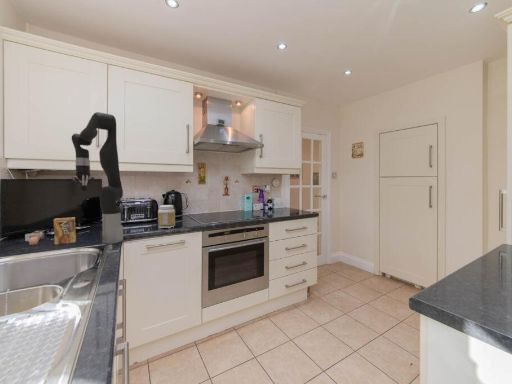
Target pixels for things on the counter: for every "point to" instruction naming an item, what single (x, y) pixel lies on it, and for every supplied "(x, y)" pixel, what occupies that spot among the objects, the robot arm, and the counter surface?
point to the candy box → (64, 230)
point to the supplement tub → (166, 216)
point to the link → (34, 239)
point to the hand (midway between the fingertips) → (83, 191)
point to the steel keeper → (28, 236)
